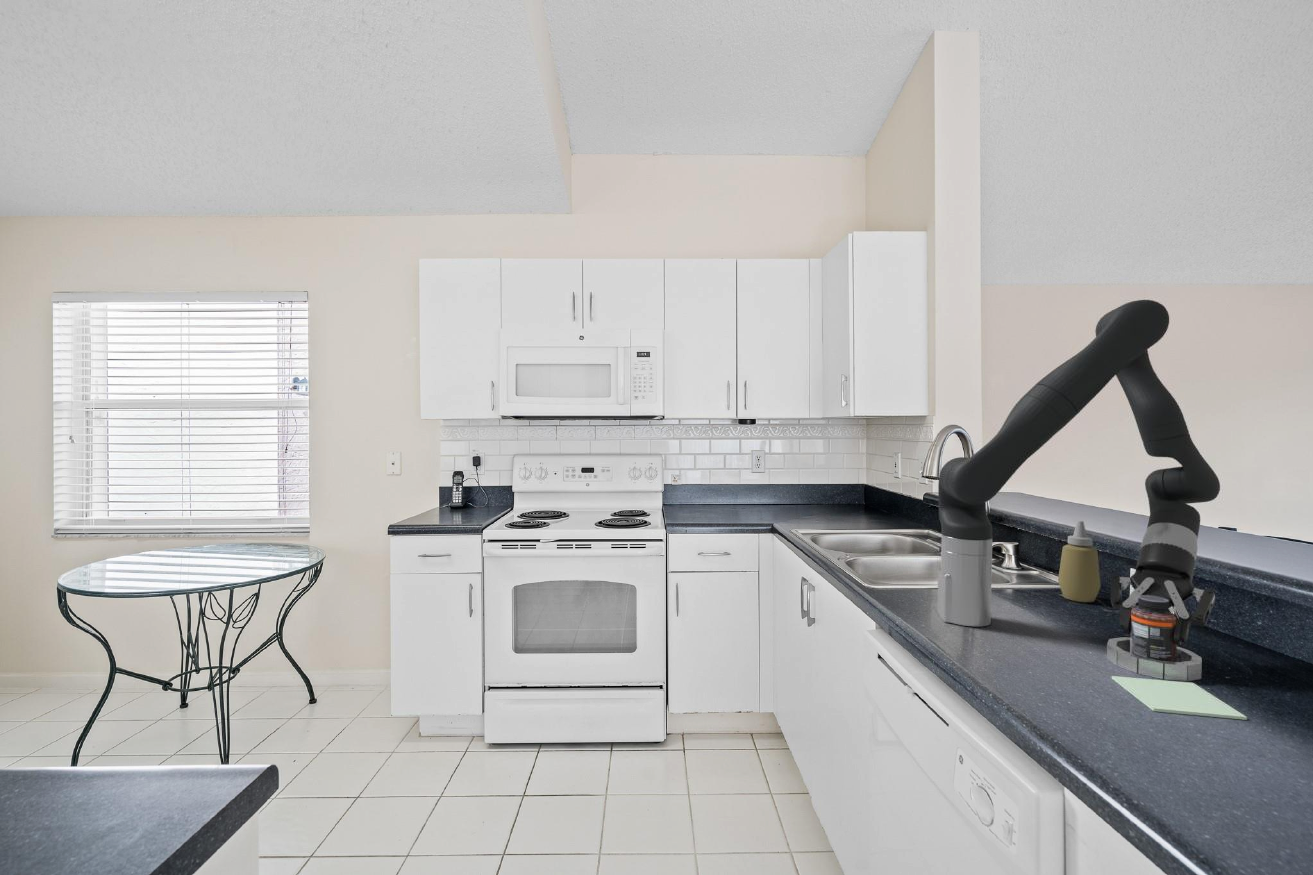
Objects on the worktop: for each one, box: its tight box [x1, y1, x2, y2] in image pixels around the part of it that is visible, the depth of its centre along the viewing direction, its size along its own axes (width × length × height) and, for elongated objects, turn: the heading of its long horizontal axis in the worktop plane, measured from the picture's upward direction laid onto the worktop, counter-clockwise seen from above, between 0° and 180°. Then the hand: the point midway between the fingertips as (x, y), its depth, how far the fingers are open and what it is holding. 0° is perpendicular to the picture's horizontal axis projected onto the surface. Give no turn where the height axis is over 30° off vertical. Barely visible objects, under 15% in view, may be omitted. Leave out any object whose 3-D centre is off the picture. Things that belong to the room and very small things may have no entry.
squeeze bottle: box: [1057, 520, 1101, 603], centre depth 137 cm, size 8×8×18 cm
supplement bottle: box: [1130, 595, 1178, 662], centre depth 99 cm, size 6×6×11 cm
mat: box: [1111, 675, 1248, 721], centre depth 88 cm, size 11×11×1 cm
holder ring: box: [1106, 636, 1203, 682], centre depth 99 cm, size 12×12×2 cm
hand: (1151, 636), depth 98 cm, fingers closed on supplement bottle, 6 cm apart
